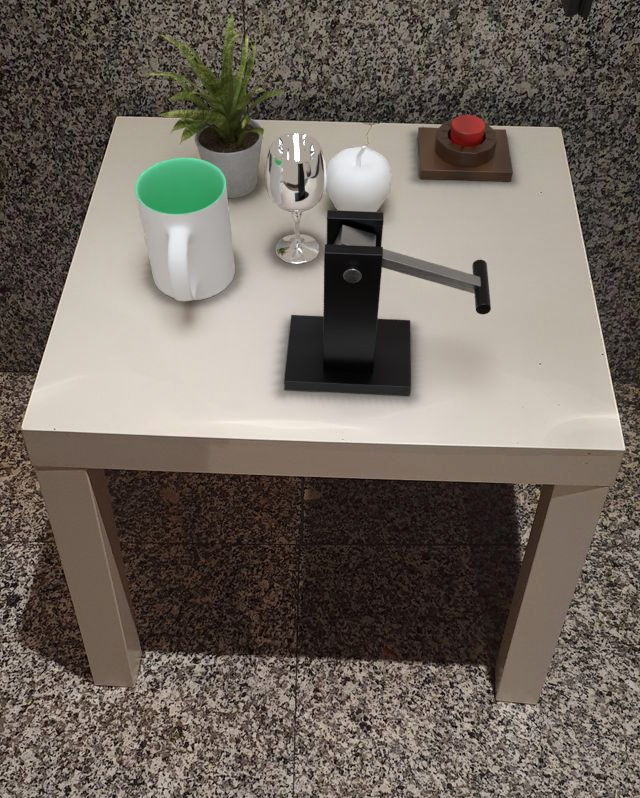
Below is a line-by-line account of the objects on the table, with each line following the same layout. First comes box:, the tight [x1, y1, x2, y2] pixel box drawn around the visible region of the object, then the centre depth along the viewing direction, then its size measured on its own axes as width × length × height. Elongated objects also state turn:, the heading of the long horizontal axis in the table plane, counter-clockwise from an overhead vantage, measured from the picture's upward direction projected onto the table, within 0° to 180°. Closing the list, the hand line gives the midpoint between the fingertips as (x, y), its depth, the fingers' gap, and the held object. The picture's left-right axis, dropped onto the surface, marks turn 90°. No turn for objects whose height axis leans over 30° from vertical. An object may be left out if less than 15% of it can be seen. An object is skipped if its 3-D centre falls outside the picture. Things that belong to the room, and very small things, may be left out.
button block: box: [417, 118, 514, 182], centre depth 93 cm, size 10×8×3 cm
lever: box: [334, 225, 492, 315], centre depth 67 cm, size 13×5×2 cm, turn 86°
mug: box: [134, 157, 236, 302], centre depth 77 cm, size 12×8×10 cm, turn 4°
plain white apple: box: [325, 145, 393, 212], centre depth 86 cm, size 7×7×8 cm
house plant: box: [144, 13, 286, 199], centre depth 86 cm, size 14×14×16 cm
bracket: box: [283, 209, 412, 397], centre depth 70 cm, size 11×8×15 cm
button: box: [450, 114, 486, 147], centre depth 91 cm, size 4×4×2 cm
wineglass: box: [264, 132, 327, 265], centre depth 80 cm, size 6×6×12 cm
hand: (574, 7), depth 61 cm, fingers closed
